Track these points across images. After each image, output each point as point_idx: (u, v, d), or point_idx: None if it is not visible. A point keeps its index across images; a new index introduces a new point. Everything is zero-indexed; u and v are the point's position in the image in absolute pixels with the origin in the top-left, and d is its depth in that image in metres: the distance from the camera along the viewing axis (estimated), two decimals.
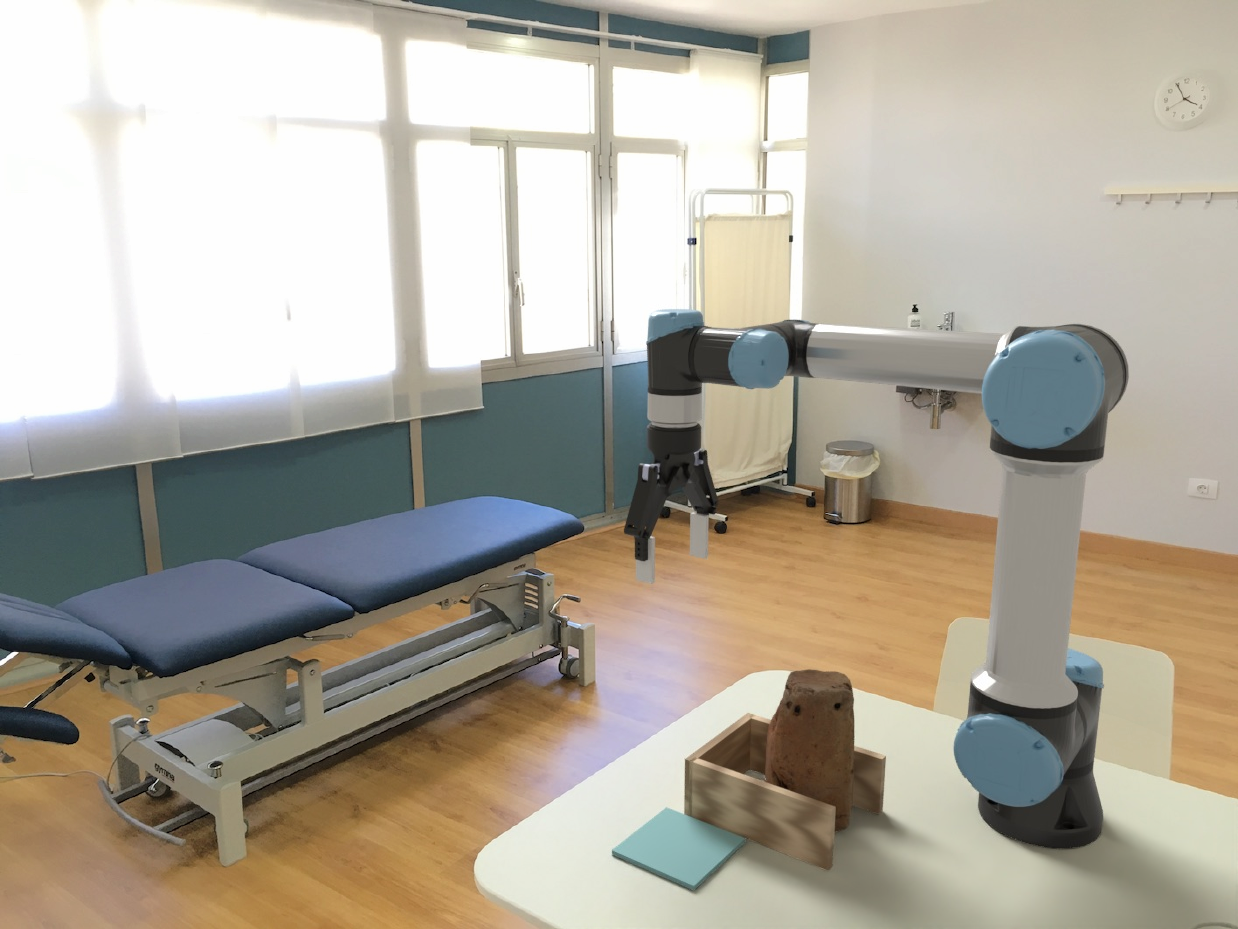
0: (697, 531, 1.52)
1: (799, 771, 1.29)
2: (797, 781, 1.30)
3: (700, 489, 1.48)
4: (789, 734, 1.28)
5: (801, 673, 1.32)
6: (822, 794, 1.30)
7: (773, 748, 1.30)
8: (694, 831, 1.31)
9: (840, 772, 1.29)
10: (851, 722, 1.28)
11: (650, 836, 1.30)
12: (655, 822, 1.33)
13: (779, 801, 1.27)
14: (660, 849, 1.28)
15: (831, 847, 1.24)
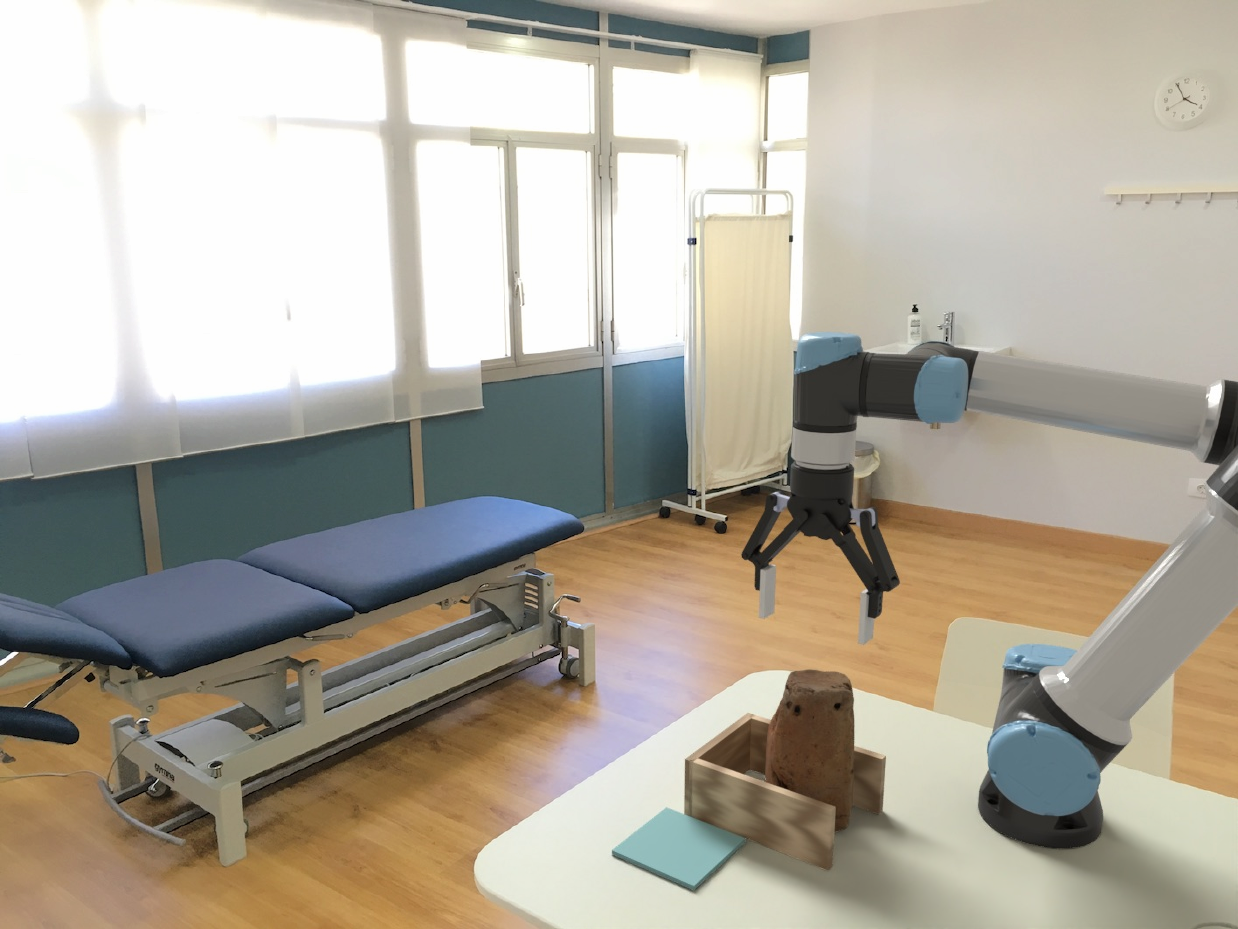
0: None
1: (799, 771, 1.29)
2: (797, 781, 1.30)
3: (853, 555, 1.23)
4: (789, 734, 1.28)
5: (801, 673, 1.32)
6: (822, 794, 1.30)
7: (773, 748, 1.30)
8: (694, 831, 1.31)
9: (840, 772, 1.29)
10: (851, 722, 1.28)
11: (650, 836, 1.30)
12: (655, 822, 1.33)
13: (779, 801, 1.27)
14: (660, 849, 1.28)
15: (831, 847, 1.24)
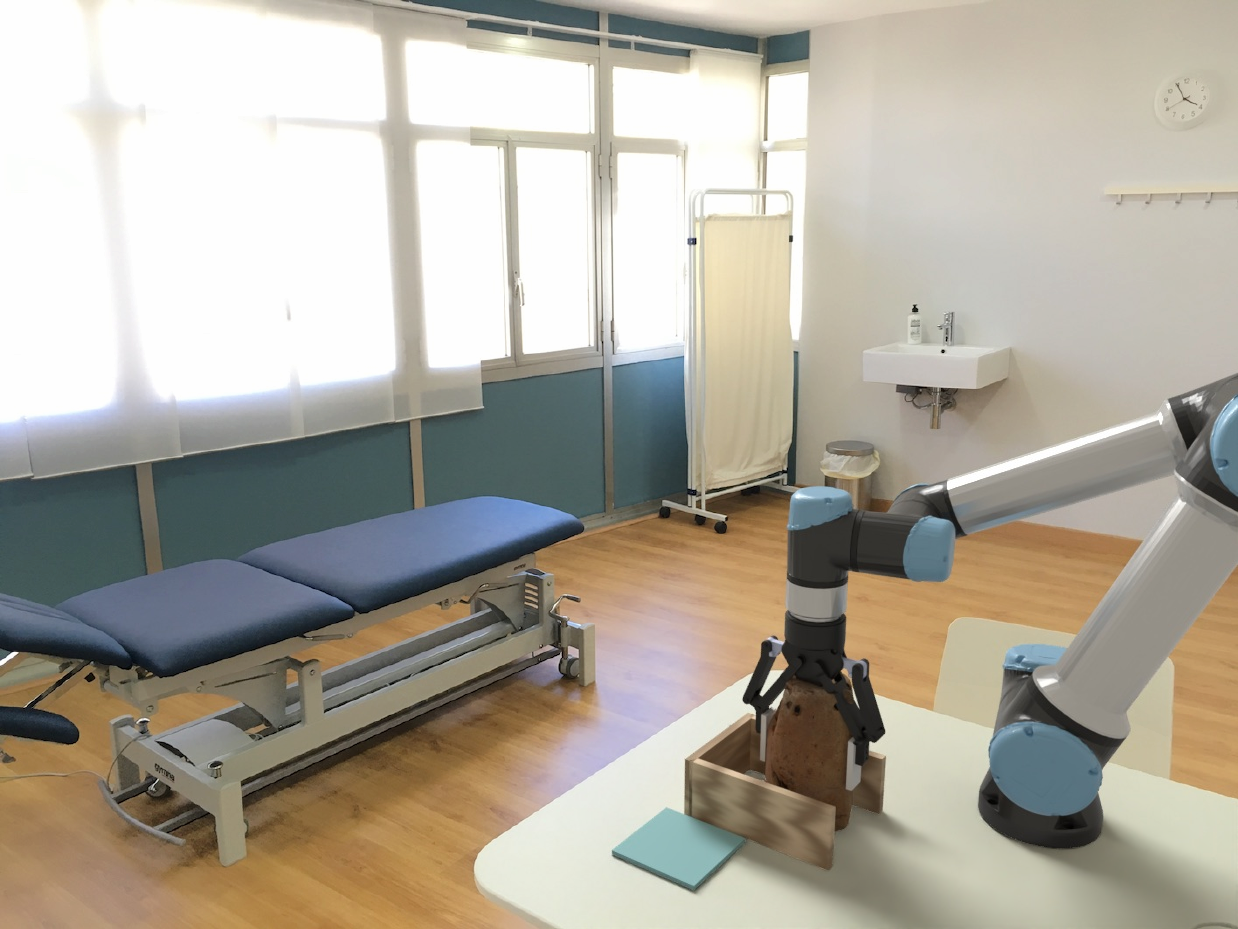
0: None
1: (799, 771, 1.29)
2: (797, 781, 1.30)
3: (843, 705, 1.27)
4: (789, 734, 1.28)
5: None
6: (821, 794, 1.30)
7: (773, 748, 1.30)
8: (694, 831, 1.31)
9: (840, 772, 1.29)
10: None
11: (650, 836, 1.30)
12: (655, 822, 1.33)
13: (779, 801, 1.27)
14: (660, 849, 1.28)
15: (831, 847, 1.24)
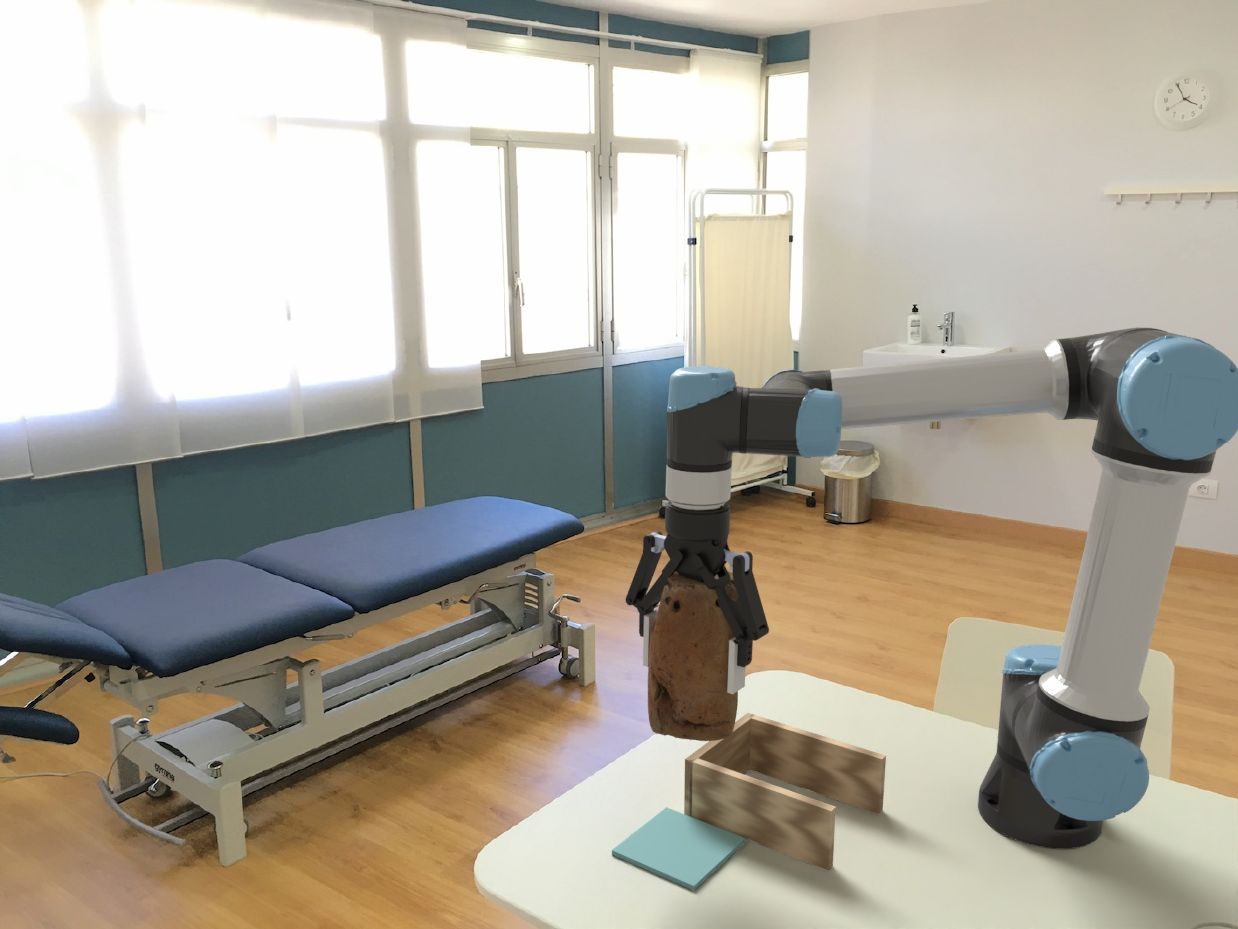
0: None
1: (678, 672, 1.21)
2: (677, 683, 1.21)
3: (724, 600, 1.18)
4: (668, 632, 1.20)
5: None
6: (702, 698, 1.21)
7: (653, 648, 1.22)
8: (694, 831, 1.31)
9: (722, 674, 1.21)
10: None
11: (650, 836, 1.30)
12: (655, 822, 1.33)
13: (779, 801, 1.27)
14: (660, 849, 1.28)
15: (831, 847, 1.24)
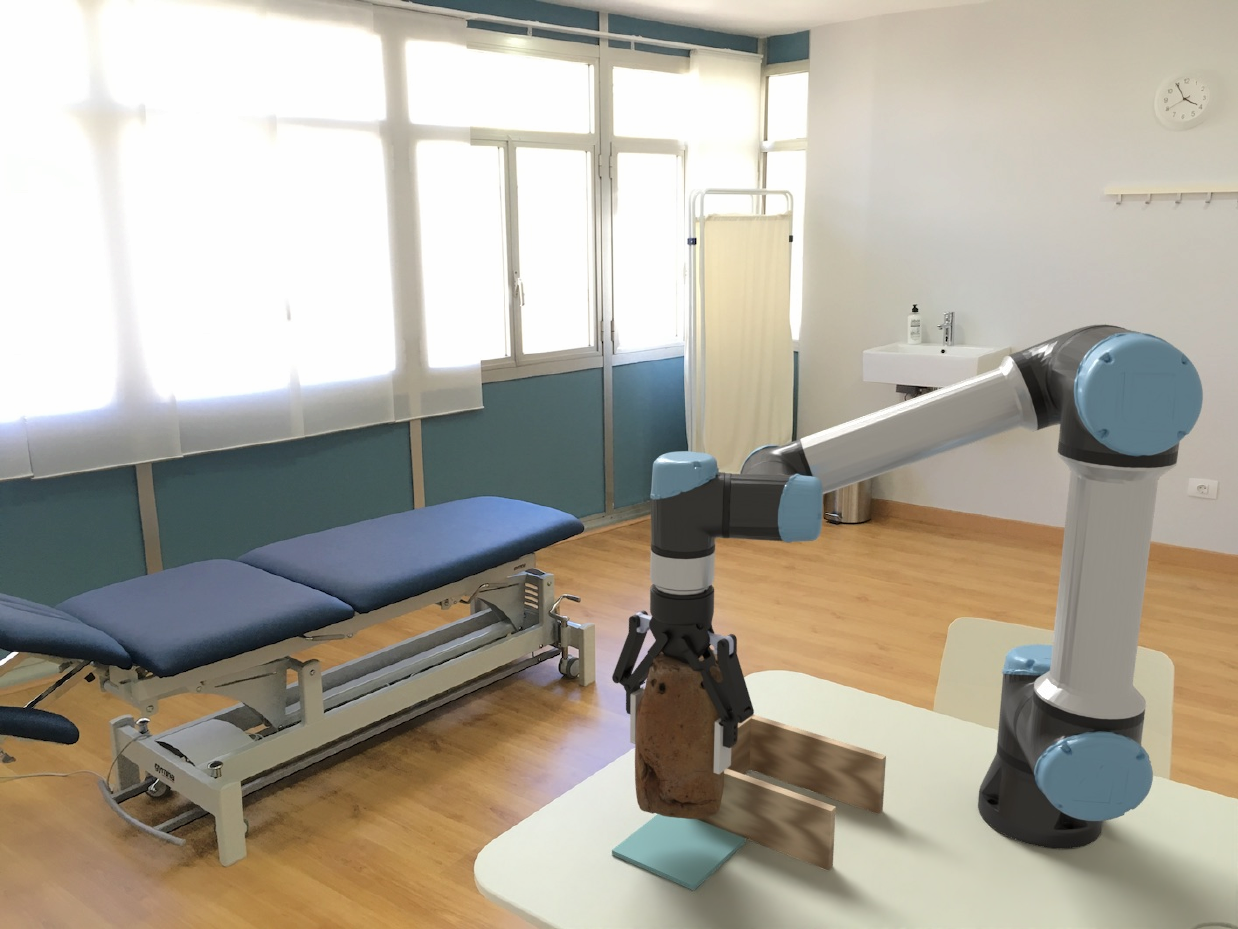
0: None
1: (665, 753, 1.22)
2: (663, 763, 1.22)
3: (709, 683, 1.20)
4: (654, 713, 1.21)
5: None
6: (689, 777, 1.23)
7: (639, 728, 1.23)
8: (694, 831, 1.31)
9: (708, 754, 1.22)
10: None
11: (650, 836, 1.30)
12: (655, 822, 1.33)
13: (779, 801, 1.27)
14: (660, 849, 1.28)
15: (831, 847, 1.24)
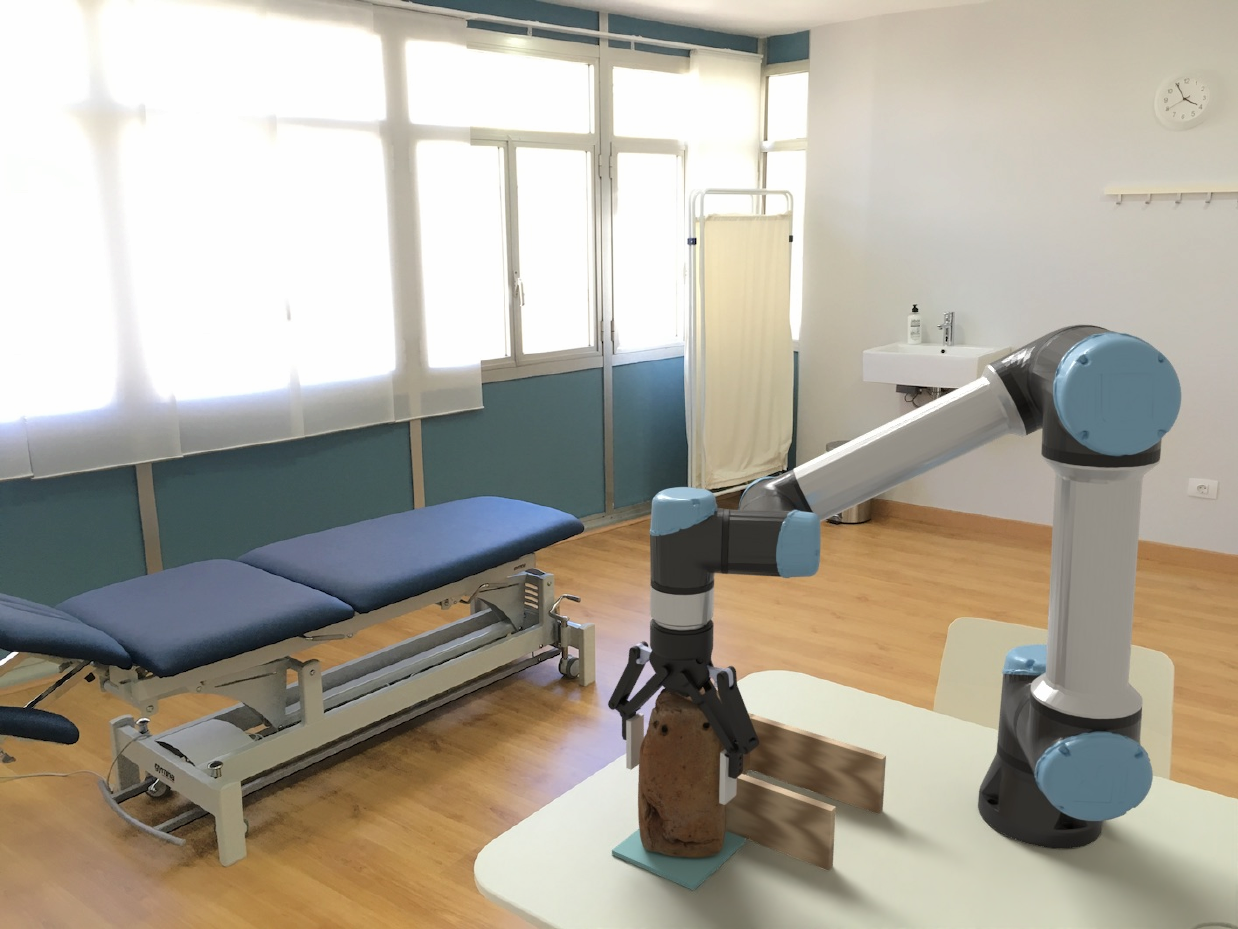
0: None
1: (667, 793, 1.23)
2: (666, 803, 1.23)
3: (711, 715, 1.20)
4: (656, 755, 1.22)
5: None
6: (692, 817, 1.24)
7: (642, 769, 1.24)
8: None
9: (710, 795, 1.23)
10: None
11: None
12: None
13: (779, 801, 1.27)
14: None
15: (831, 847, 1.24)
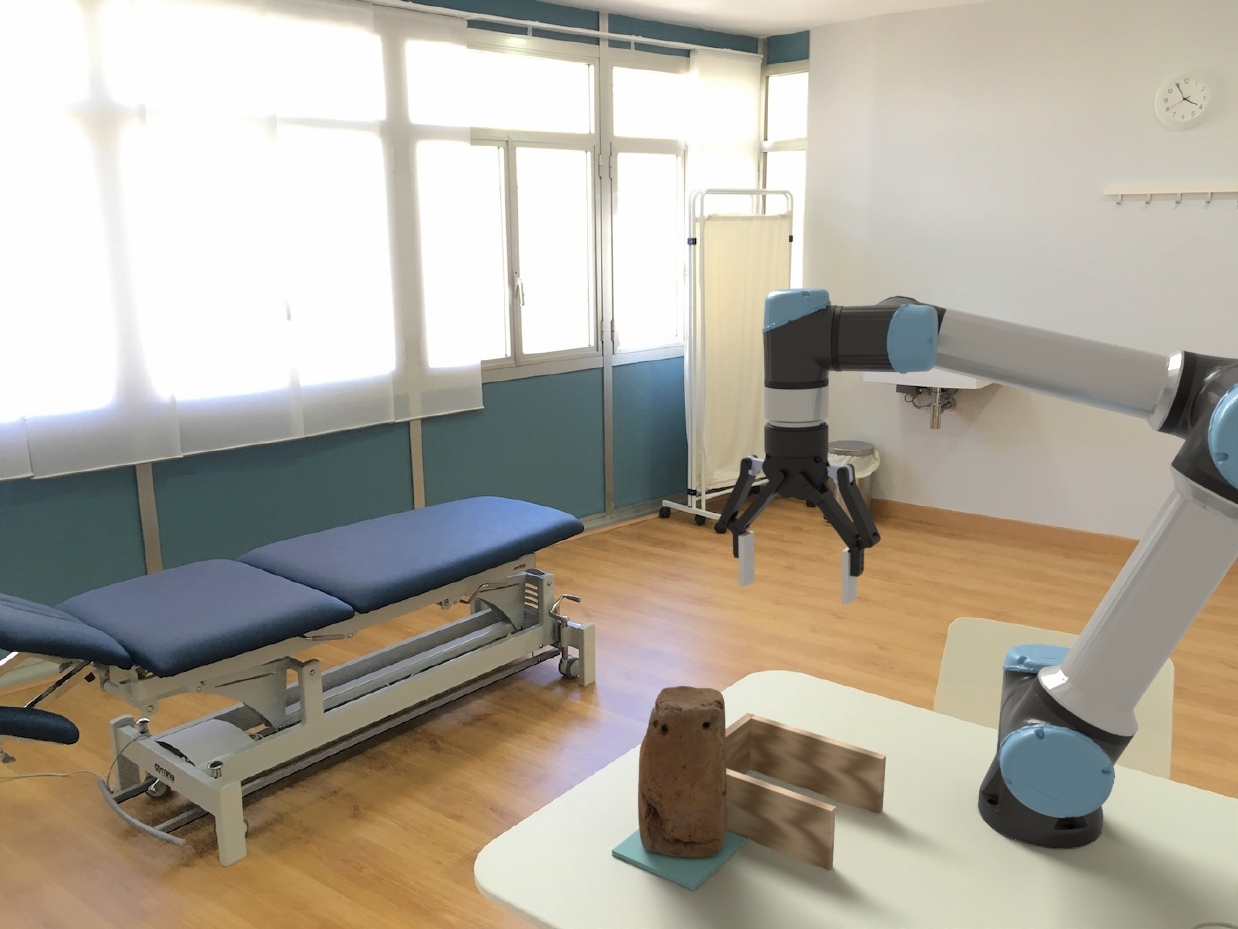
0: None
1: (667, 793, 1.23)
2: (666, 803, 1.23)
3: (832, 513, 1.21)
4: (656, 754, 1.22)
5: (673, 690, 1.26)
6: (692, 817, 1.24)
7: (642, 768, 1.24)
8: None
9: (710, 794, 1.23)
10: (721, 742, 1.22)
11: None
12: None
13: (779, 801, 1.27)
14: None
15: (831, 847, 1.24)
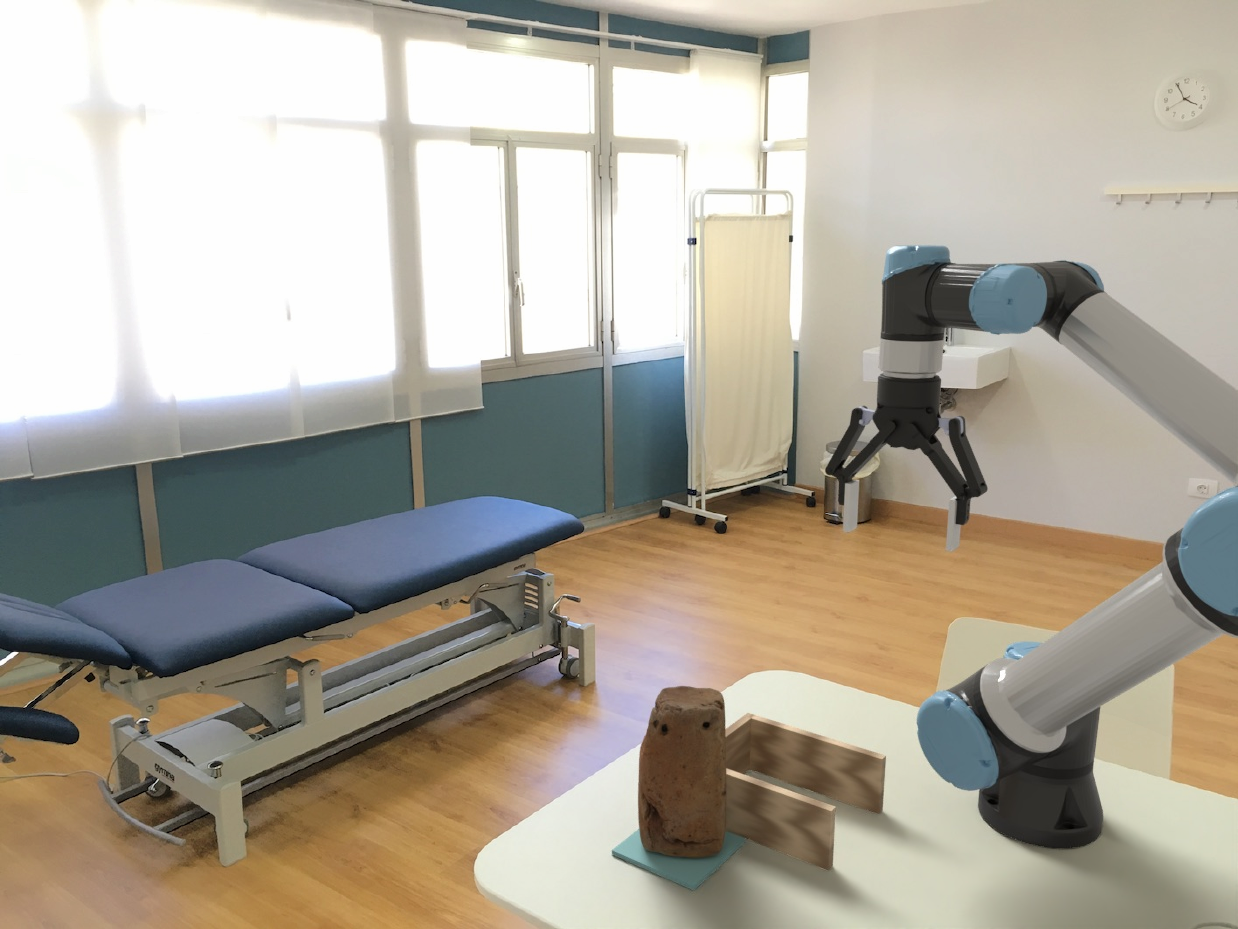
0: None
1: (667, 793, 1.23)
2: (666, 803, 1.23)
3: (941, 463, 1.25)
4: (656, 754, 1.22)
5: (673, 690, 1.26)
6: (692, 817, 1.24)
7: (642, 768, 1.24)
8: None
9: (710, 794, 1.23)
10: (721, 742, 1.22)
11: None
12: None
13: (779, 801, 1.27)
14: None
15: (831, 847, 1.24)
